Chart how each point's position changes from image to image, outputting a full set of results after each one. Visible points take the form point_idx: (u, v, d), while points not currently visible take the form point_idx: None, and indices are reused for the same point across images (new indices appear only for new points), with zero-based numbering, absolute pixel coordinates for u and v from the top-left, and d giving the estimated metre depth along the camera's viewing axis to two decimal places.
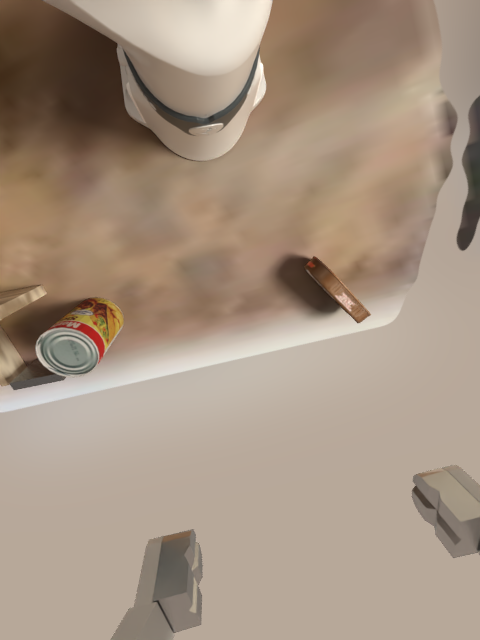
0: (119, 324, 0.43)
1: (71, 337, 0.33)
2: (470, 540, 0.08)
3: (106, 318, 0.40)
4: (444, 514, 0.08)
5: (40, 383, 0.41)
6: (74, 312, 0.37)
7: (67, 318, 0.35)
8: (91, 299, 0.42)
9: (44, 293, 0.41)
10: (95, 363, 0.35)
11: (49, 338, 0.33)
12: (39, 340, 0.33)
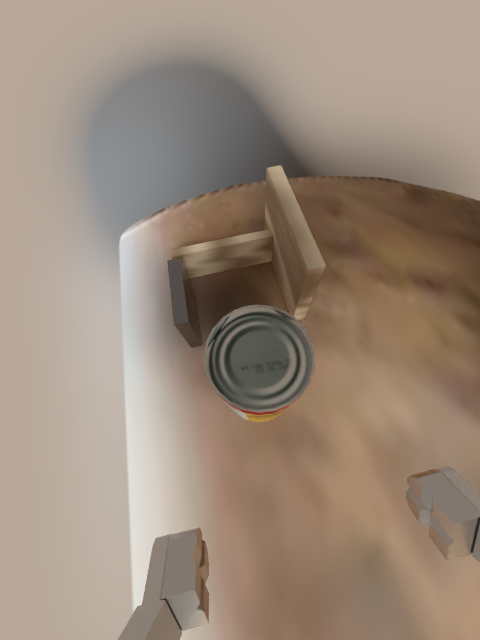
0: (257, 420, 0.25)
1: (294, 366, 0.17)
2: (463, 542, 0.08)
3: None
4: (437, 515, 0.08)
5: (173, 293, 0.26)
6: None
7: None
8: None
9: None
10: (233, 400, 0.17)
11: (289, 330, 0.19)
12: (285, 314, 0.19)
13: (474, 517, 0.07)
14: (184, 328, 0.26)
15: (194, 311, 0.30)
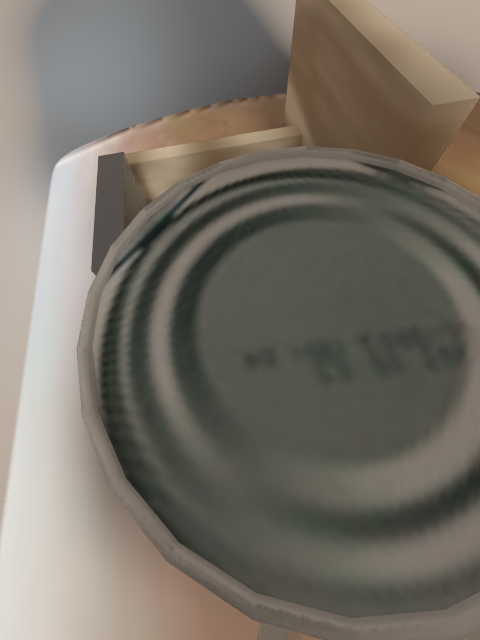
0: None
1: None
2: None
3: None
4: None
5: (99, 210, 0.12)
6: None
7: None
8: None
9: None
10: (199, 544, 0.03)
11: (429, 220, 0.05)
12: (402, 173, 0.05)
13: None
14: None
15: None
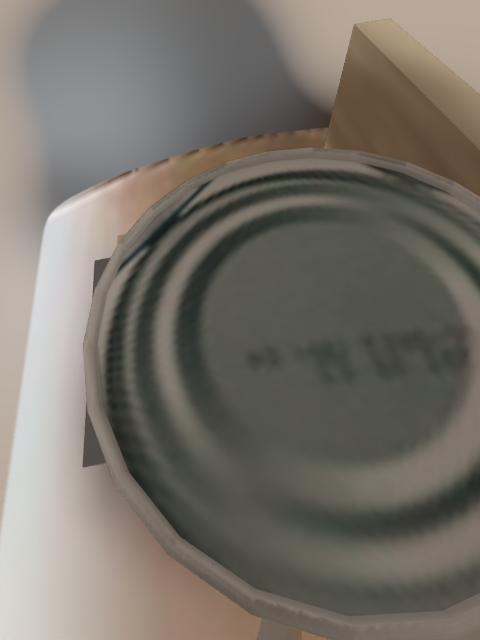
0: None
1: None
2: None
3: None
4: None
5: None
6: None
7: None
8: None
9: None
10: (200, 539, 0.03)
11: (435, 224, 0.05)
12: (409, 176, 0.05)
13: None
14: None
15: None
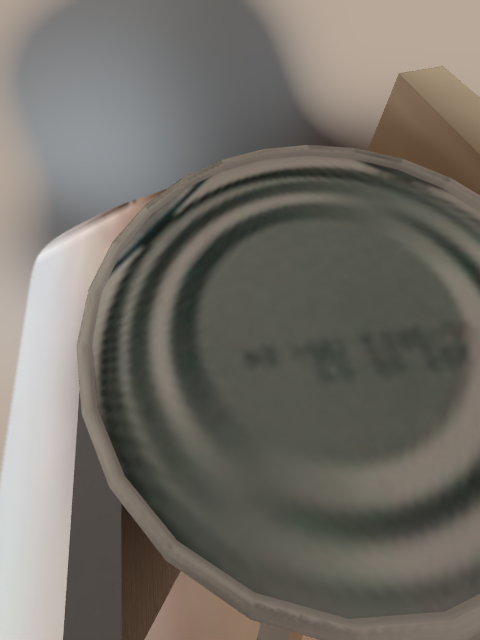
0: None
1: None
2: None
3: None
4: None
5: (80, 503, 0.07)
6: None
7: None
8: None
9: None
10: (198, 542, 0.03)
11: (432, 220, 0.05)
12: (405, 173, 0.05)
13: None
14: None
15: None
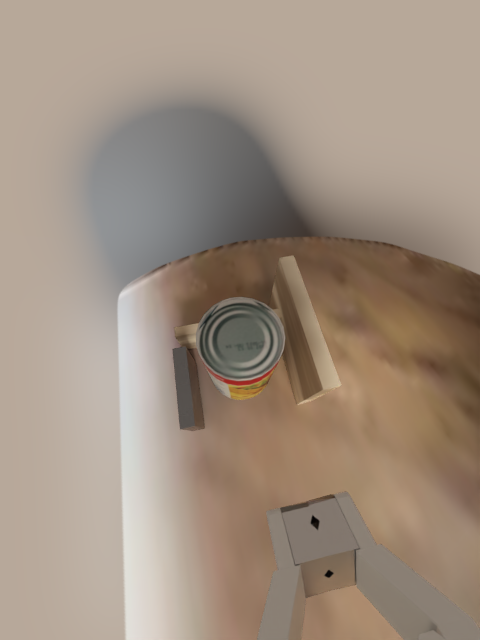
0: (238, 397, 0.29)
1: (268, 346, 0.22)
2: (344, 573, 0.07)
3: (261, 386, 0.27)
4: (320, 545, 0.08)
5: (178, 389, 0.25)
6: None
7: None
8: None
9: (299, 403, 0.30)
10: (218, 371, 0.21)
11: (266, 318, 0.23)
12: (263, 306, 0.23)
13: (350, 549, 0.07)
14: (189, 428, 0.25)
15: (197, 394, 0.29)
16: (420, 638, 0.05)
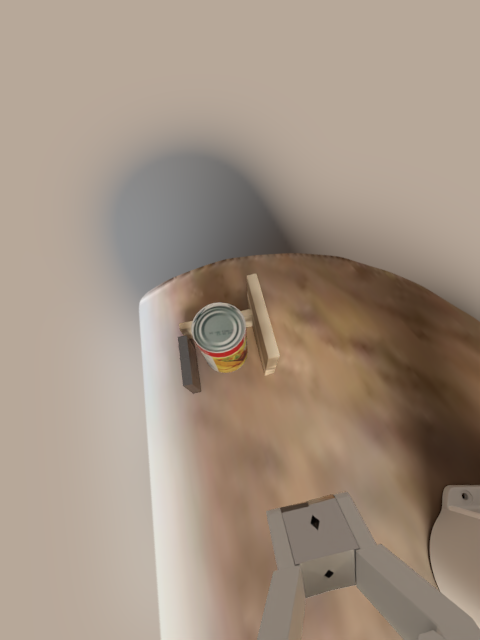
0: (223, 369, 0.43)
1: (235, 332, 0.35)
2: (344, 573, 0.07)
3: (236, 360, 0.40)
4: (321, 545, 0.08)
5: (182, 362, 0.39)
6: None
7: None
8: None
9: (266, 374, 0.44)
10: (204, 347, 0.35)
11: (235, 315, 0.37)
12: (233, 307, 0.37)
13: (350, 549, 0.07)
14: (189, 386, 0.39)
15: (195, 368, 0.43)
16: (420, 638, 0.05)
